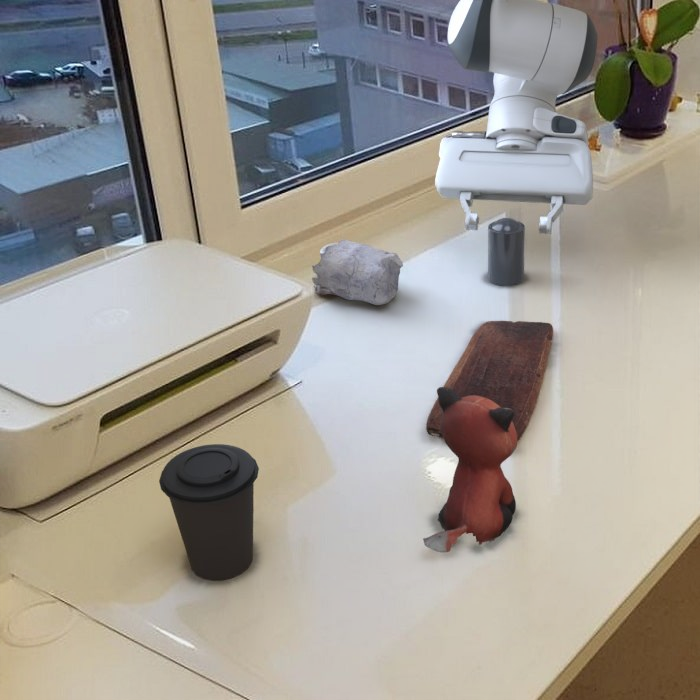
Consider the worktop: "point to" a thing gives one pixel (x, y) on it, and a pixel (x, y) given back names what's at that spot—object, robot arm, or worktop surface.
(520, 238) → the dome-topped grey canister
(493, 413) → the stuffed fox
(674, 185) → the worktop surface
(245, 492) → the coffee cup
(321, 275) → the stone
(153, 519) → the worktop surface
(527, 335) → the wooden tablet
